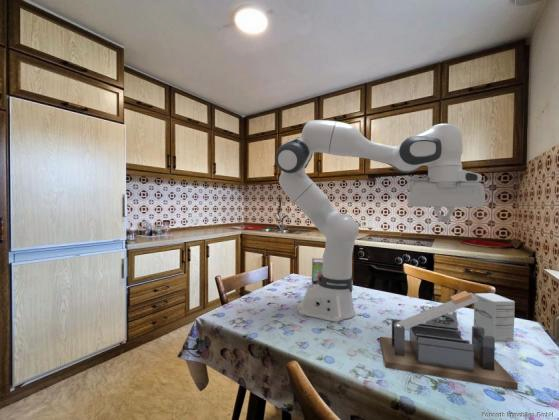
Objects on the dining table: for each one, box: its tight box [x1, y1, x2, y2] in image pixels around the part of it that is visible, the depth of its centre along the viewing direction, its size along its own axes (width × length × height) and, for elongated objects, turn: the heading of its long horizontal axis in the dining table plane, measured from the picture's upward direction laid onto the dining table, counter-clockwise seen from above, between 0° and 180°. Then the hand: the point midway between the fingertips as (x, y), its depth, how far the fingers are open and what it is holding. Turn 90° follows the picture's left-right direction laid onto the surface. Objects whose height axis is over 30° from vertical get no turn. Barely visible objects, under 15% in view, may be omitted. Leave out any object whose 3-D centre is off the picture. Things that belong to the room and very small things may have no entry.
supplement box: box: [473, 292, 516, 342], centre depth 81 cm, size 7×7×13 cm
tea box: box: [311, 257, 323, 288], centre depth 126 cm, size 15×10×15 cm
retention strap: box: [394, 290, 479, 331], centre depth 67 cm, size 22×3×2 cm, turn 74°
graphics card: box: [419, 305, 459, 328], centre depth 89 cm, size 17×4×12 cm
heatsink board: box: [379, 318, 519, 391], centre depth 67 cm, size 28×13×10 cm, turn 74°
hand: (443, 221), depth 78 cm, fingers closed
